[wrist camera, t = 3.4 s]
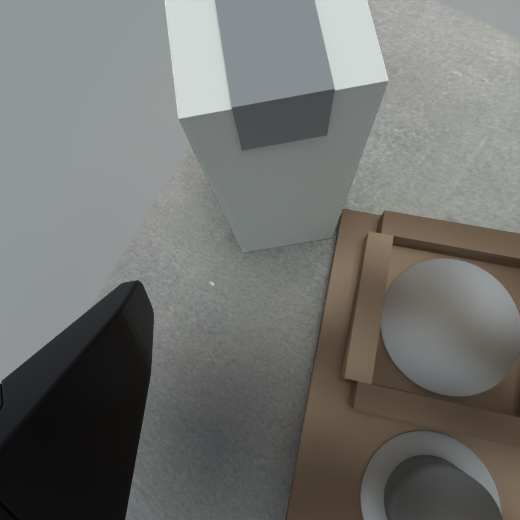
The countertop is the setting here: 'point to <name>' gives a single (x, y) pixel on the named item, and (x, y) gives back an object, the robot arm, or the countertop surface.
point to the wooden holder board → (414, 376)
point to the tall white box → (277, 108)
